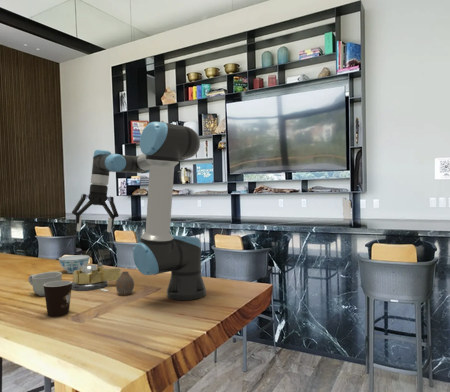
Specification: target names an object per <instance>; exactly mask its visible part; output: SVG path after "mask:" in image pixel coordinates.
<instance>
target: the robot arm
mask: <svg viewBox="0 0 450 392" xmlns="http://www.w3.org/2000/svg"><path fill="white" fill-rule="evenodd" d="M200 147H201V141H200V137H199V135H198V133H197V132H196V130H194V129H193V128H191V127H190V126H184V125H178V124H173V123H168V122H164V121H163V122H162V121H151V122H149V123H148V124H146V126H145V127H144V128H143V130H142V131H141V134H140V137H139V148H140V152H141V153H142V154H140V155H125V154H119V153H112V152H111V151H109V150H105V149H95V150H94V152H93V157H92V167H91V175H90V176H91V177H90V183H91V184H90V185H89V194H86V193H82V194H80V195H81V196H80V199H79V200H78V202H77V204H76V205H75V207H74V208H73V210H72V211H71V214H72V215H74V216H75V220H74V221H75V224H76V232H81V229H82V228H81V227H82V220H83V219H82V218H83V217H82V214H83V213H84V212H86V211H87V209H89V207H91V206H92V205H93V206H102V207H103V209H104V210H105V211H106V213H107V215H109V217H108V220H107V229H106V232H107V233H112V232H111V231H112V226H114V224H115V223H114V222H115V219H116V218H119V213H118V210H117V208H116V205H115V204H116V203H115V201H114V199H115V198H114V196H108V190H109V189H108V185H109V178H110V173H131V174H132V173H133V174H148V187H147V188H148V189H147V190H148V191H147V204H146V221H145V231H144V233H143V234H141V236H140V242H137V244H135V245H134V247H133V251H132V256H133V261H134V265H135V267H136V270H138V271H139V272H140V273H141V274H142V275H144V276H156V275H159V274H165V273H169V272H170V273H171V274H170V279H169V282H168V285H167V289H166V297H167V298H168V299H170V300H175V301H191V300H193V299H194V300H198V299H197V298H199V299H202V298H204V297H205V296H207V289H206V288H207V287H206V285H205V283H204V279H203V276H202V246H201V245H202V244H201V239H200V238H199V237H196V236H188V235H187V236H186V235H172V233H171V221H172V220H171V218H172V205H173V189H174V176H175V174H174V173H175V167H176V166H177V165H179V163H180V161H184V160H187V159H190V158H192V157H194V156H196V154H198V152H199V149H200ZM87 199H88V201H87V202H86V203H85V200H87ZM107 201H108V202H109V205H110V207H109V206H108V204H107ZM84 203H85V204H84ZM83 204H84V205H83ZM80 208H81V209H80ZM110 208H111V209H110ZM203 296H204V297H203ZM201 297H202V298H201Z"/></svg>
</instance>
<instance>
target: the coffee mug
mask: <svg viewBox="0 0 450 392" xmlns="http://www.w3.org/2000/svg"><path fill="white" fill-rule="evenodd" d="M72 282H73V280H72V281H71V280H62V281H54V282H49V283H46V284H44V292H45V296H44V299H45V306H46V313H47V317H50V318H58V317H64V316H66V315H69V314H70V306H71V305H70V304H71V296H72V291H73V290H72Z"/></svg>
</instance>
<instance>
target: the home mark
mask: <svg viewBox="0 0 450 392" xmlns="http://www.w3.org/2000/svg"><path fill="white" fill-rule="evenodd" d="M98 290H99V291H102V292H110V290H109V289H106V288H101V289H98Z"/></svg>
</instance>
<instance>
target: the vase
mask: <svg viewBox="0 0 450 392" xmlns="http://www.w3.org/2000/svg"><path fill="white" fill-rule="evenodd" d="M115 283H116V284H115V287H116V293H118V294H119V295H120V296H128V295H131V294H132V293H133V291H134V288H135V281H134V278H133V277H132V276H131V275H130V273H129V271H127V270H126V271H121V275H120V277H119V278H118V280H117V281H116V282H115Z"/></svg>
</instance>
